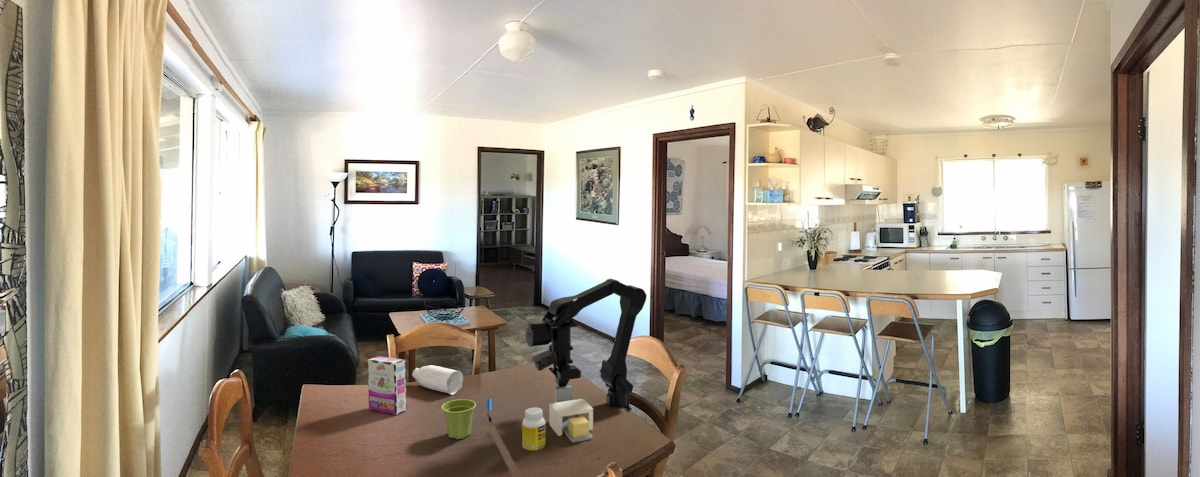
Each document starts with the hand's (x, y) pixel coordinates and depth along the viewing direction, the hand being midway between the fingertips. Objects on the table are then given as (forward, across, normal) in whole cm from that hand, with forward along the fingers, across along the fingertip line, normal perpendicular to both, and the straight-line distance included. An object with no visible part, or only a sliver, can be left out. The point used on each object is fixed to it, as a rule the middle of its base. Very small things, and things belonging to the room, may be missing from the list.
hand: (561, 392), depth 171 cm
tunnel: (+9, +5, 0) cm, 10 cm away
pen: (+9, -16, -18) cm, 26 cm away
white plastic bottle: (+9, -40, -32) cm, 52 cm away
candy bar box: (+9, -27, -48) cm, 56 cm away
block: (+7, +15, 0) cm, 17 cm away
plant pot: (+9, -1, -30) cm, 31 cm away
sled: (+8, +10, 0) cm, 13 cm away
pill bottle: (+9, +16, -13) cm, 22 cm away
